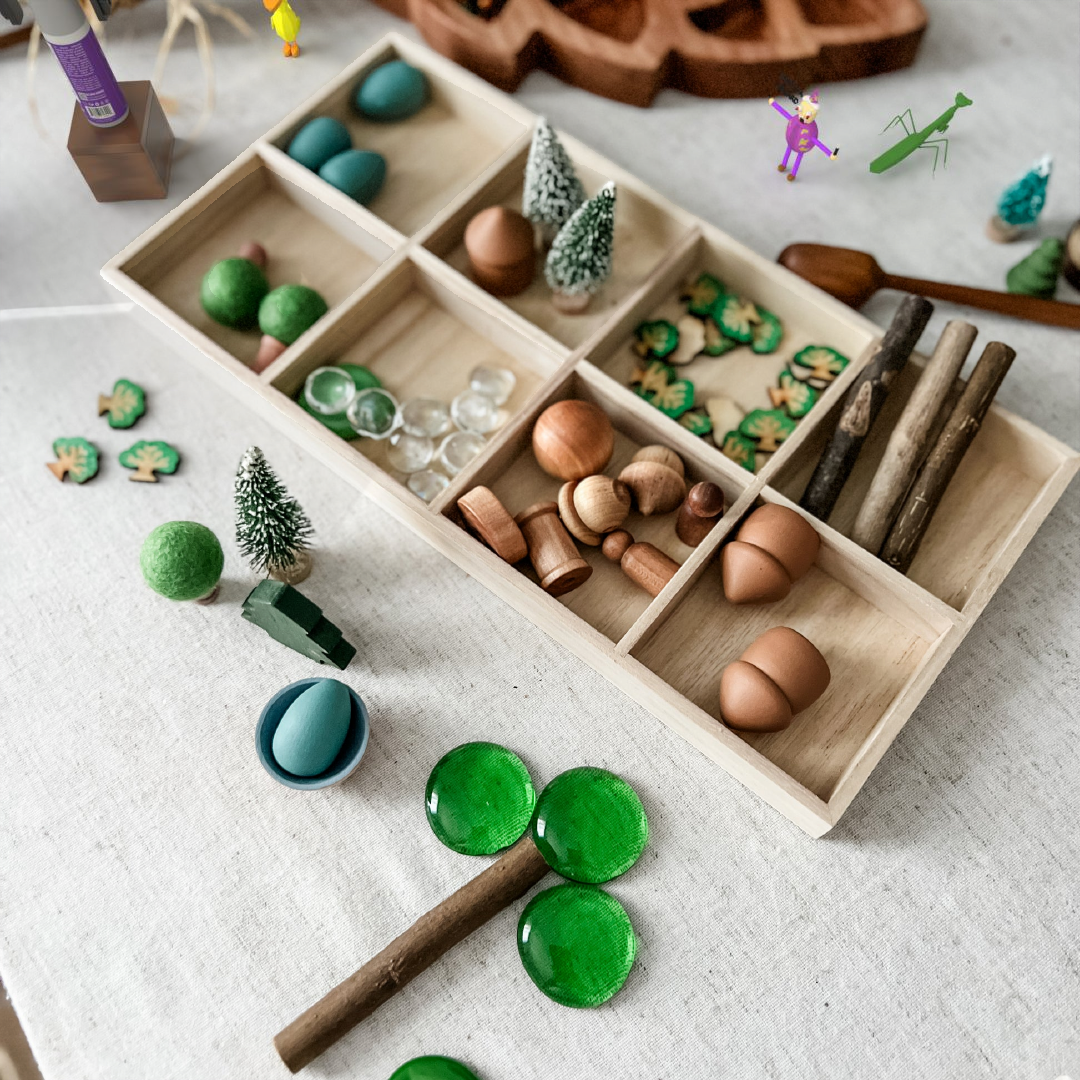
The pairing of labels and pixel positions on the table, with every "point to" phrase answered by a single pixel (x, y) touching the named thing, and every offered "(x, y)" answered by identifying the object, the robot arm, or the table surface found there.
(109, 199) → the brown wooden cube
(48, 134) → the table surface
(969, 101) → the praying mantis
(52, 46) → the container
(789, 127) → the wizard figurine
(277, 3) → the toy figure
